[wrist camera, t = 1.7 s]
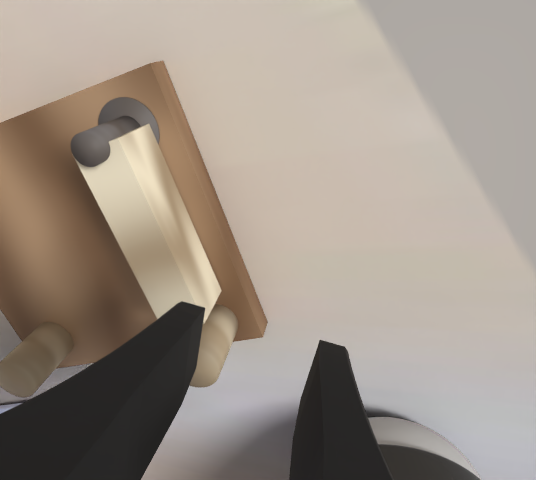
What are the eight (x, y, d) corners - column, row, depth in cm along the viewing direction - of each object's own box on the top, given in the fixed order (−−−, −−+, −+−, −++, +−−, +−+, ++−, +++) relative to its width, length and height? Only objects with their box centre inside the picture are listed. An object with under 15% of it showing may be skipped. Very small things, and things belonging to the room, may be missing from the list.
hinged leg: (101, 123, 18) (55, 141, 15) (142, 108, 17) (102, 124, 14) (184, 297, 21) (158, 338, 18) (221, 290, 20) (200, 331, 17)
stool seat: (54, 356, 26) (2, 414, 22) (-77, 155, 22) (-173, 184, 18) (267, 322, 22) (247, 385, 18) (163, 60, 17) (106, 71, 13)
